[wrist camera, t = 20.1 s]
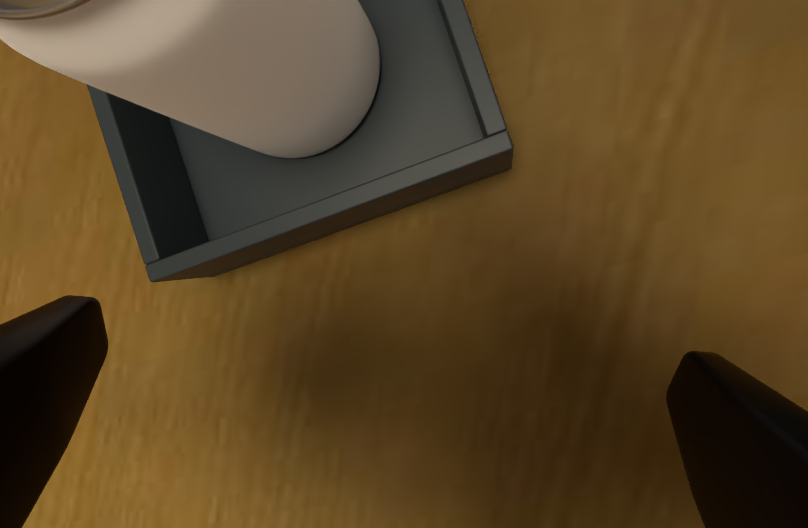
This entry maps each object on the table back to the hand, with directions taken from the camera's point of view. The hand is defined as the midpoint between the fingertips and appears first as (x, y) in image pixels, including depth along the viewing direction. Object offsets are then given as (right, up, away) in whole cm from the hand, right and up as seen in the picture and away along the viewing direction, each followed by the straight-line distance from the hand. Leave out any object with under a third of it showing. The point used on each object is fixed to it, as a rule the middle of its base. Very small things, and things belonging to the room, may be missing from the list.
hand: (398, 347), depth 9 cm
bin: (-4, +8, +12) cm, 16 cm away
